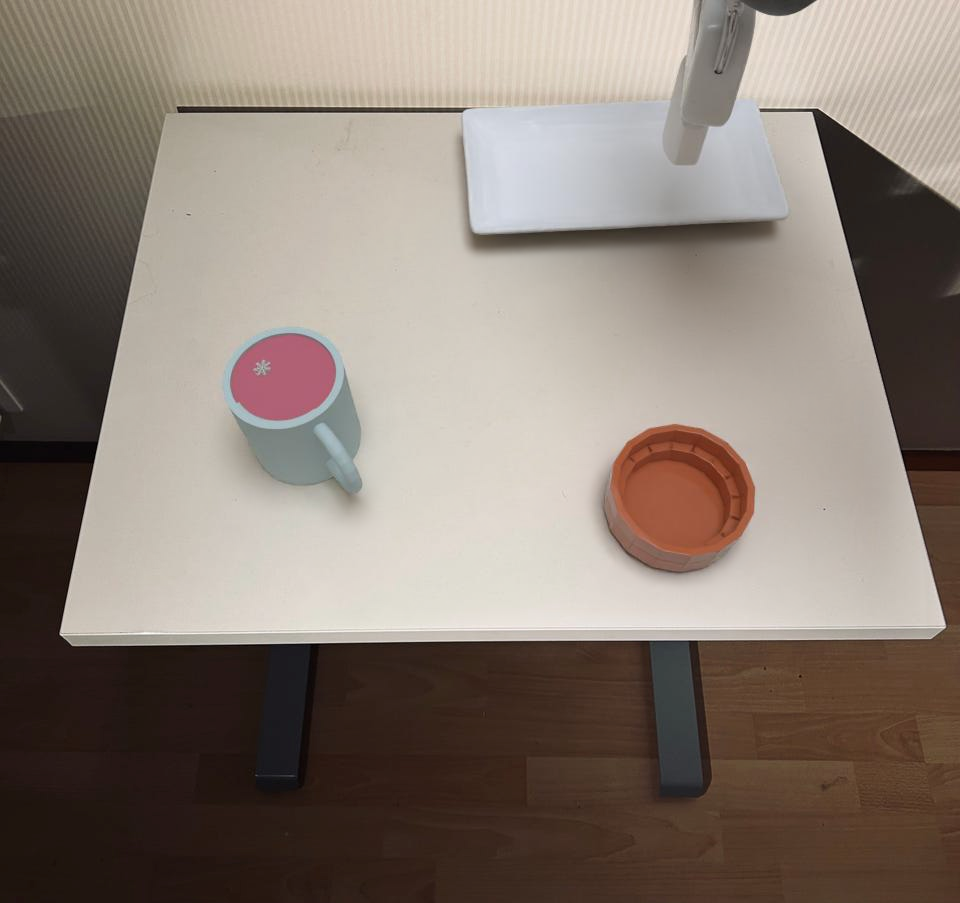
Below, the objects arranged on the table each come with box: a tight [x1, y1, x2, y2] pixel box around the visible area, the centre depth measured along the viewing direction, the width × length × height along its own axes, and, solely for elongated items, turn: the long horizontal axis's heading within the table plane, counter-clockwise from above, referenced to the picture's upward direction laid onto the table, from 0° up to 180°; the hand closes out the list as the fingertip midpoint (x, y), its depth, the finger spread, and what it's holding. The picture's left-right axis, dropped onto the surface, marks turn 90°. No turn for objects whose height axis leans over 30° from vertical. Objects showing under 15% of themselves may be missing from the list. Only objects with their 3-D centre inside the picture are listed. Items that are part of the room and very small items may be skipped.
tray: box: [460, 97, 791, 236], centre depth 82 cm, size 17×31×4 cm, turn 94°
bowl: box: [603, 423, 756, 573], centre depth 65 cm, size 11×11×4 cm
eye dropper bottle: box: [662, 54, 709, 166], centre depth 68 cm, size 4×6×12 cm
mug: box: [221, 326, 363, 494], centre depth 64 cm, size 14×9×10 cm
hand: (695, 94), depth 68 cm, fingers closed on eye dropper bottle, 5 cm apart
